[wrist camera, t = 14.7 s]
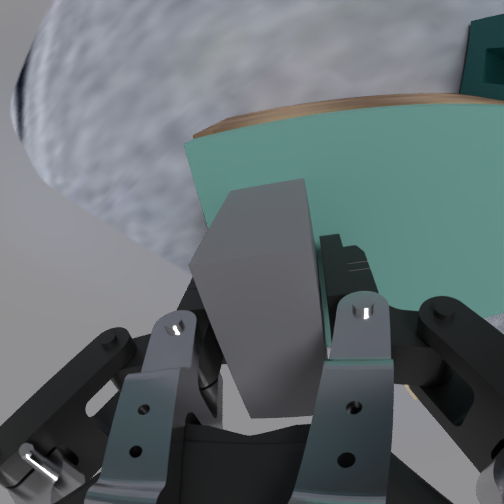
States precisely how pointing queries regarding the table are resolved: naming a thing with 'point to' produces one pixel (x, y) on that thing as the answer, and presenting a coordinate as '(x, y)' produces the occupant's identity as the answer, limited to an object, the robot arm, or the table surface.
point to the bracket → (485, 59)
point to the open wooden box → (341, 108)
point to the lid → (342, 229)
